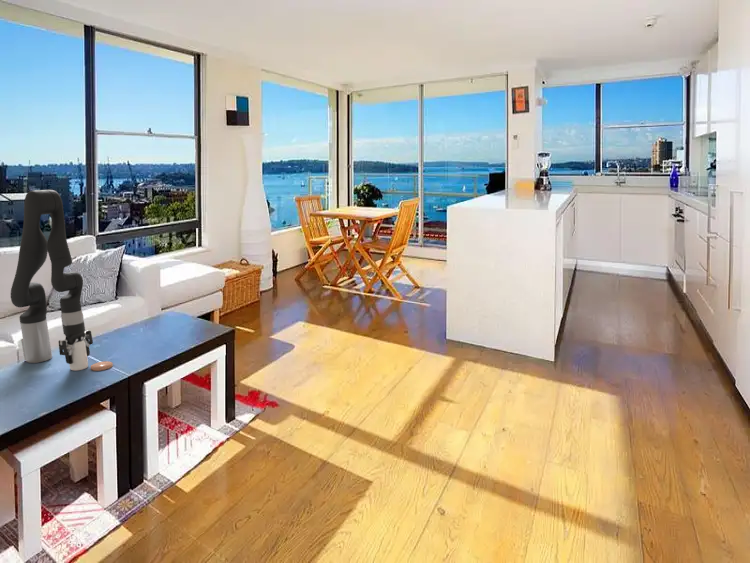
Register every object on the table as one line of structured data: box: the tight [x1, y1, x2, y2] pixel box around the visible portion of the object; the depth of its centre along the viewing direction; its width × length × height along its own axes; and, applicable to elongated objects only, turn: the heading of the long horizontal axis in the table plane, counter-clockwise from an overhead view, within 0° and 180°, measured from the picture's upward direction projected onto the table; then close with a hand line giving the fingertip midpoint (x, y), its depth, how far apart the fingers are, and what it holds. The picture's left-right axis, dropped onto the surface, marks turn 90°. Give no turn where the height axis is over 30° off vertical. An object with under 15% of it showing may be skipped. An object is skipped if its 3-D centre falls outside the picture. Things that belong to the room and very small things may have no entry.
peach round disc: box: [90, 360, 114, 372], centre depth 206 cm, size 8×8×1 cm
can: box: [68, 338, 89, 372], centre depth 203 cm, size 6×6×12 cm
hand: (78, 359), depth 204 cm, fingers open, 8 cm apart
